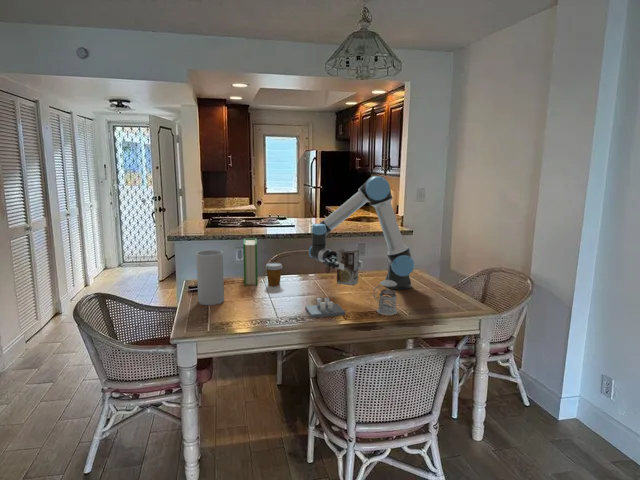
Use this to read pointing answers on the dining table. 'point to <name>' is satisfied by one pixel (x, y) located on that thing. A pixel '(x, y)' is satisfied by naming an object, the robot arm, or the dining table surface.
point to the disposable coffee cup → (274, 273)
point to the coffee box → (348, 267)
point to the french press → (387, 298)
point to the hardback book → (250, 261)
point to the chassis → (324, 309)
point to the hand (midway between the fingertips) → (352, 266)
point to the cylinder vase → (210, 277)
